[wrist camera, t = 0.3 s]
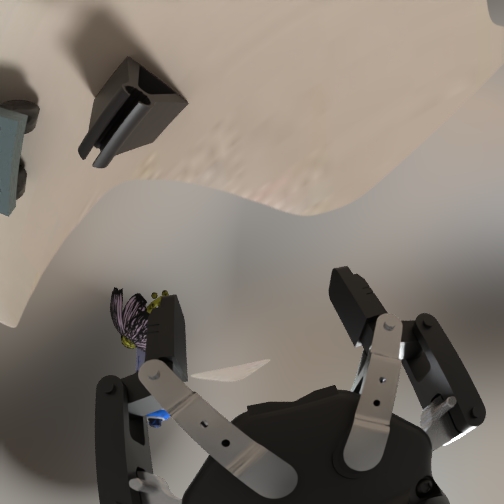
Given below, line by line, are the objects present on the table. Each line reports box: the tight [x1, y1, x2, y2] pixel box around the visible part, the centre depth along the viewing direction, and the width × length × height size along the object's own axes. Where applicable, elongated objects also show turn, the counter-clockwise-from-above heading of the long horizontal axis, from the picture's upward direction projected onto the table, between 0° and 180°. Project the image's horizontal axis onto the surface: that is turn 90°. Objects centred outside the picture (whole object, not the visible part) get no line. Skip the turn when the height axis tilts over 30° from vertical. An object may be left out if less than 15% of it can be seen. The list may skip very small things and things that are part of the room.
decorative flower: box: [110, 287, 169, 352], centre depth 42 cm, size 15×12×15 cm
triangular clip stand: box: [78, 57, 189, 168], centre depth 20 cm, size 9×6×12 cm, turn 42°
